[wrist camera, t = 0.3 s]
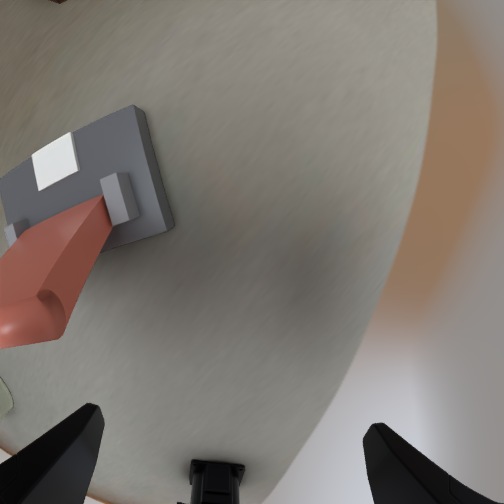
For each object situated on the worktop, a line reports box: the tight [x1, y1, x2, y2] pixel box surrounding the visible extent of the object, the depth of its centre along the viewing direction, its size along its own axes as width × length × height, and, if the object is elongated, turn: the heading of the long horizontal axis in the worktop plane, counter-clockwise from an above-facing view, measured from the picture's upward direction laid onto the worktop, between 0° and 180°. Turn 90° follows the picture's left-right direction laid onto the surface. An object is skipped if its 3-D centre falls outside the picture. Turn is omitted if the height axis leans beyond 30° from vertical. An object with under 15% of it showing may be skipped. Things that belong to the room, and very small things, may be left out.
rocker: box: [0, 194, 113, 349], centre depth 13 cm, size 2×8×11 cm, turn 104°
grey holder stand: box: [0, 105, 175, 253], centre depth 18 cm, size 9×14×4 cm, turn 105°
